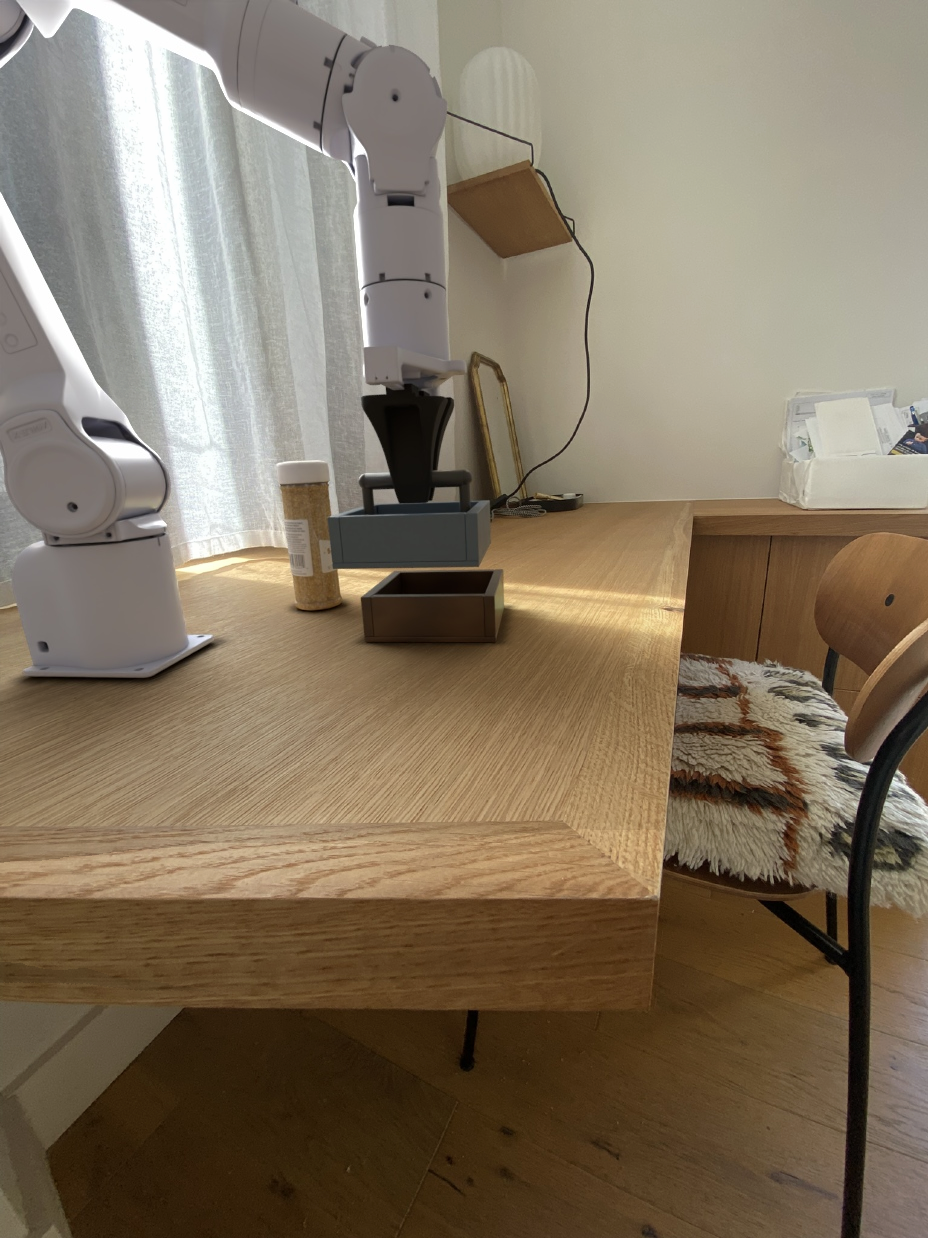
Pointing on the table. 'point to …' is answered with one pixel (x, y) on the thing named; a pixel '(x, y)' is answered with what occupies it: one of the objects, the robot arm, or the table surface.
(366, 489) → the blue-gray basket with handle
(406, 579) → the bottom basket
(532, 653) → the table surface
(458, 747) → the table surface
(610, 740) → the table surface
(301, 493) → the sprinkles bottle
